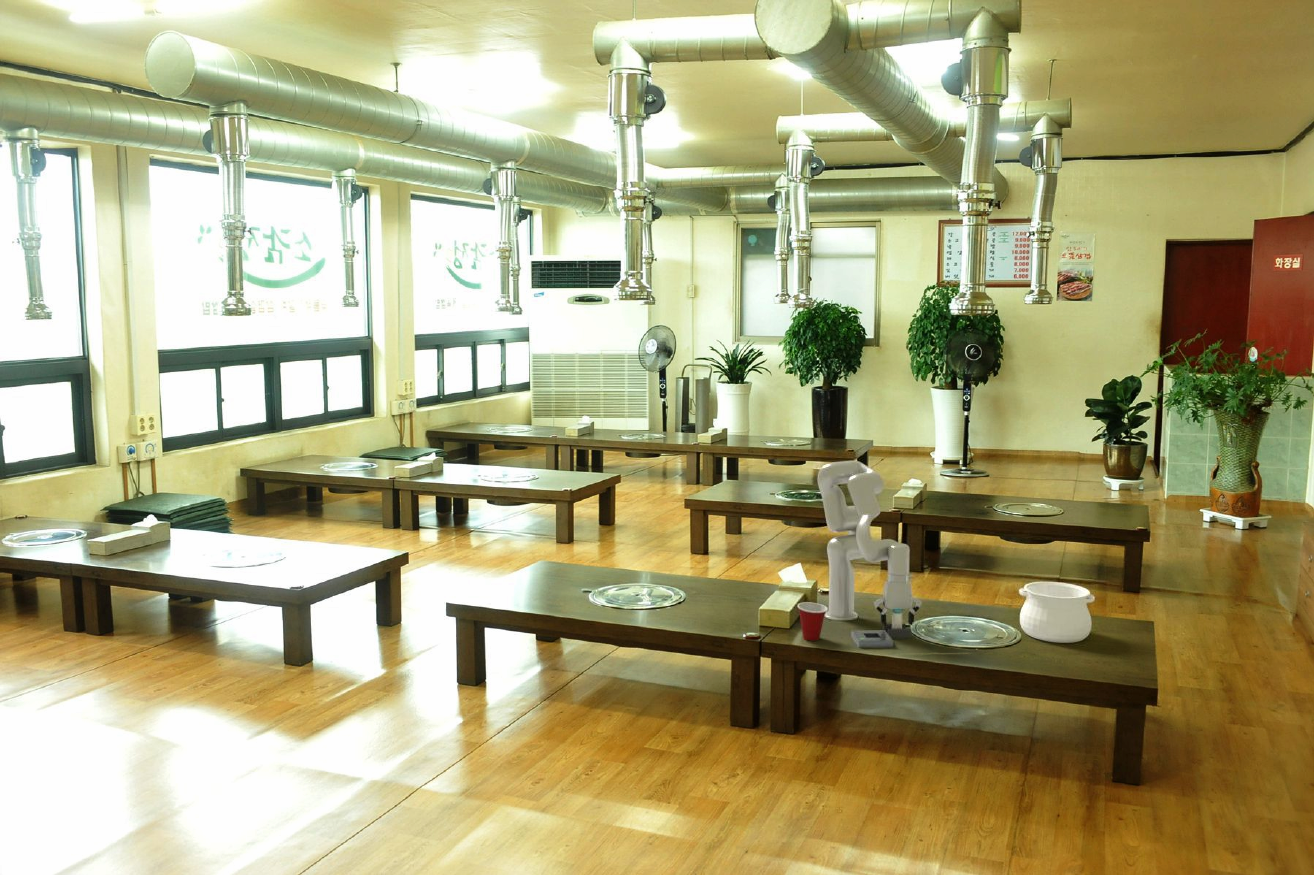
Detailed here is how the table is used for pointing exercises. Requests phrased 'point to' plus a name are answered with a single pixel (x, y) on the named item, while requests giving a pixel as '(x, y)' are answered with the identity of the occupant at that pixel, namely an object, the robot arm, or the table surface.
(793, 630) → the table surface
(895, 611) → the white cylinder
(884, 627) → the holster
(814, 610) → the plastic cup
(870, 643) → the port
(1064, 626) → the pot
